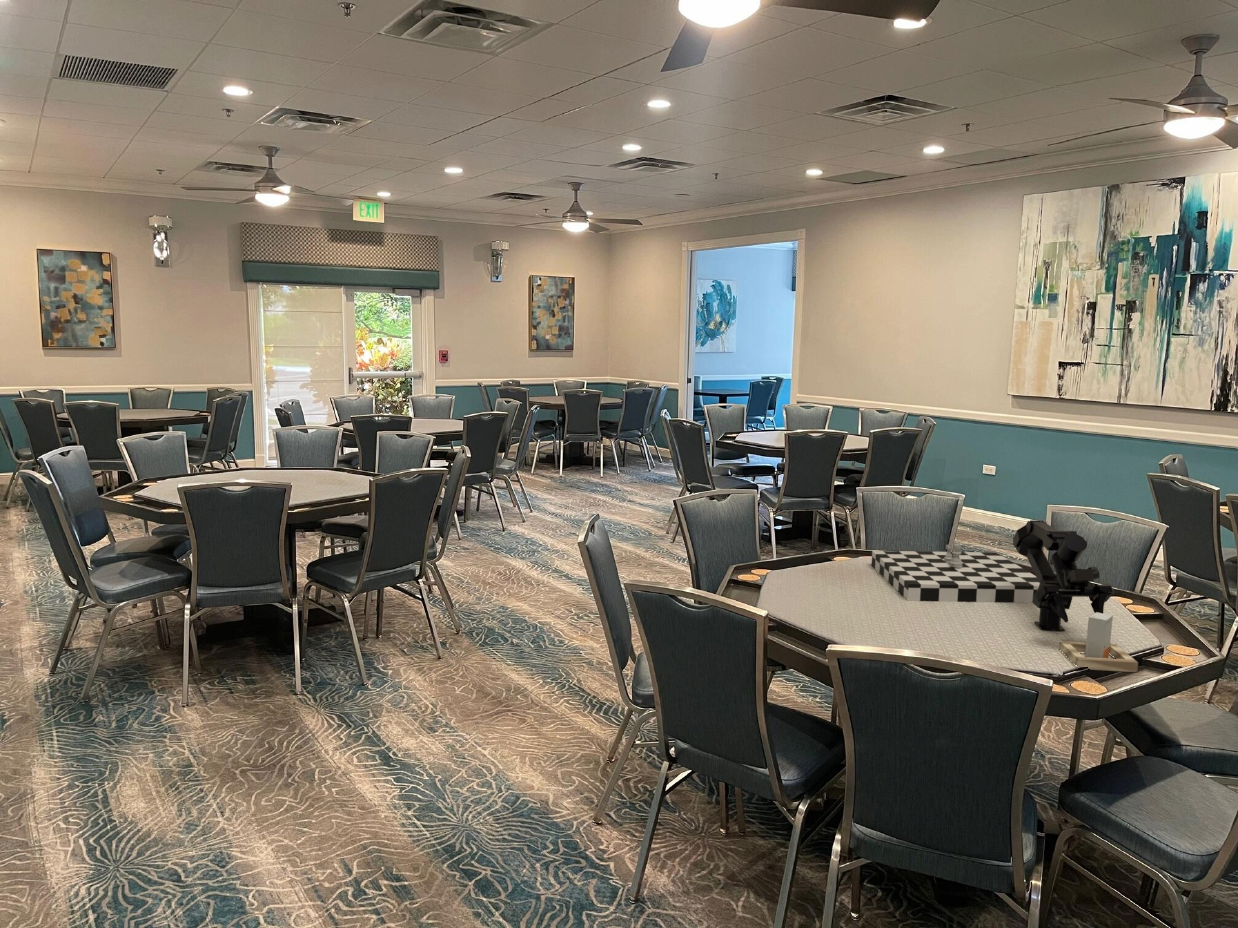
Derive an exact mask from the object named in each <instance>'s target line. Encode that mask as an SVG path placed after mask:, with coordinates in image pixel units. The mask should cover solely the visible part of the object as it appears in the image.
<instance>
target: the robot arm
mask: <svg viewBox="0 0 1238 928" xmlns="http://www.w3.org/2000/svg"><path fill="white" fill-rule="evenodd" d="M1012 545H1013V547H1014V548H1015V550H1016V552H1017V553H1018V554H1019V555H1021V556H1023V557H1025V558H1026V559H1027V560H1028V562H1029V565H1030V567H1031V568H1032V571H1033V573H1034V575H1035V576H1036V577H1037V579H1038V581H1039V583H1040V584H1039V588H1038V589H1037V591H1036V593H1035V594H1034V596H1033V603H1032V604H1033V605H1035V606H1036V608H1038V609H1039V616H1038V621H1034V624H1035V625H1036V627H1038V628H1039V629H1040V630H1042V631H1055V632H1056V631H1061V632H1064V631H1065V630H1066V629H1065V628H1064V627H1063V626H1062V621H1063V622H1064V623H1068V622H1069V617H1068V614H1067V611H1066V610H1070V607H1071V606H1072V605H1071V604H1072V601H1073V597H1074V598H1076V597H1077V598H1078V597H1079V598H1081V597H1082V598H1085V597H1087V598H1089V601H1090V606H1091V608H1092V610H1093V612H1094V613H1093V614H1095V613H1096V612H1098V613H1102V614H1104V610H1105V609H1104V608H1105V604H1106V603H1107V602H1108V600H1110V598H1111V597H1112V596H1113V595H1114V594H1115V591H1114V589H1113V587H1112V585H1110V584H1095V585H1094V586H1093V588H1092V589H1088V588H1087V587H1088V586H1090V584H1089V583H1090V582H1092V583H1093V582H1095V580H1098V579H1100V571H1099V569H1098V567H1097V566H1090V567H1087V568H1078V565H1077V562H1078V561H1079V560H1080V558H1081V557H1082V555H1083V554H1084V552H1085V551H1086V549H1087V547H1088V542H1087V540H1086V539H1085V538H1084V537H1083V536H1081V535H1079V534H1078V532H1077V531H1076V530H1061V529H1060V530H1058V529H1056V528H1055V527H1053V526H1052V525H1050V524H1048V523H1047V521H1044V520H1035V519H1034V520H1028V521H1026V524H1025V525H1023V526H1022V527H1020V528H1017V530H1016V532H1015V533H1014V536H1013V539H1012ZM1044 548H1045V549H1046V551H1051V552H1054V553H1053V554H1052V555H1051V557H1050V560H1048V558H1047V556H1046V554H1045V552H1044ZM1049 561H1050V562H1049ZM1052 566H1053V567H1052ZM1053 568H1054V569H1053ZM1086 588H1087V589H1086Z"/></svg>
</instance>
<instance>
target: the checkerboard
mask: <svg viewBox="0 0 1238 928" xmlns="http://www.w3.org/2000/svg"><path fill="white" fill-rule="evenodd" d="M945 549H946V550H947V551H917V550H916V551H915V550H914V551H910V550H909V551H906V550H905V551H904V550H903V551H902V550H872V551H871V566H872V568H874V569H875V570H876V572H877V573H879V574H880V576H882V577H883V578H884V579H885V581H887V582H888V583H889V584H890V585H891V586H892V587H893V588H894V589H895V590H896V591H897V592H898V593H899V594H900V595H901V596H902V597H904V599H905V600H906V601H908V602H948V603H949V602H953V603H959V602H960V603H1000V604H1001V603H1004V604H1007V603H1008V604H1009V603H1012V604H1013V603H1016V604H1034V603H1033V596H1034V594H1035V593H1036V591H1037V589H1038V588H1039V584H1040V583H1039V581H1038V579H1037V577H1036V575H1035V574H1033V573H1032V572H1030V571H1028V570H1026V569H1024V568H1023V567H1021V566H1019V565H1018V564H1016V563H1014V562H1013V561H1012V560H1010V559H1008V558H1006V557H1004V556H1003V555H1002V554H1000V553H998V552H991V551H990V552H981V551H979V552H977V551H972V552H971V551H970V552H969V551H961V550H962V545H961V542H959V541H955V542H954V544H953V545H952V544H945Z"/></svg>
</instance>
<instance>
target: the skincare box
mask: <svg viewBox="0 0 1238 928" xmlns="http://www.w3.org/2000/svg"><path fill="white" fill-rule="evenodd" d="M1113 617H1114V616H1113V615H1112V614H1106V613H1103V614H1102V613H1098V612H1096V613H1092V614H1091V615H1090V616H1088V623H1087V634H1086V641H1085V642H1086V651H1085V654H1084V657H1091V658H1110V655H1109V649H1110V644H1111V638H1112V637H1111V636H1112V629H1113V628H1112V627H1113Z"/></svg>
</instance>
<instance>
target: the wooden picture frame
mask: <svg viewBox="0 0 1238 928" xmlns="http://www.w3.org/2000/svg"><path fill="white" fill-rule="evenodd" d="M1059 650H1061V652H1063V654H1065V656H1067V658H1069V659H1070V660H1071V661H1072V662H1073V663H1074V664H1075V665H1077V666H1078V667H1088V668H1089V669H1090V670H1091V671H1092V670H1093V671H1109V672H1125V673H1126V672H1128V673H1130V672H1131V673H1138V667H1139V662H1138V661H1137V660H1136V659H1134V658H1133V657H1132V655H1131V656H1130V655H1129V654H1128V653H1127V652H1126V651H1124V650H1123V649H1122V648H1121V647H1119V646H1118V645H1117V644H1116V643H1110V649H1109V653H1110V654H1111V655H1112V656H1114V657H1115V658H1116V659H1113V658H1110V657H1109V658H1091V657H1085V655H1083V654H1080V653H1079V652H1085V651H1086V641H1085V642H1082V641H1062V640H1059V646H1058V651H1059ZM1061 652H1060V653H1061ZM1063 654H1062V655H1063ZM1065 656H1064V657H1065ZM1067 658H1066V659H1067ZM1070 660H1069V661H1070ZM1071 661H1070V662H1071ZM1072 662H1071V663H1072ZM1073 663H1072V664H1073ZM1074 664H1073V665H1074ZM1075 665H1074V666H1075Z"/></svg>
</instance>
